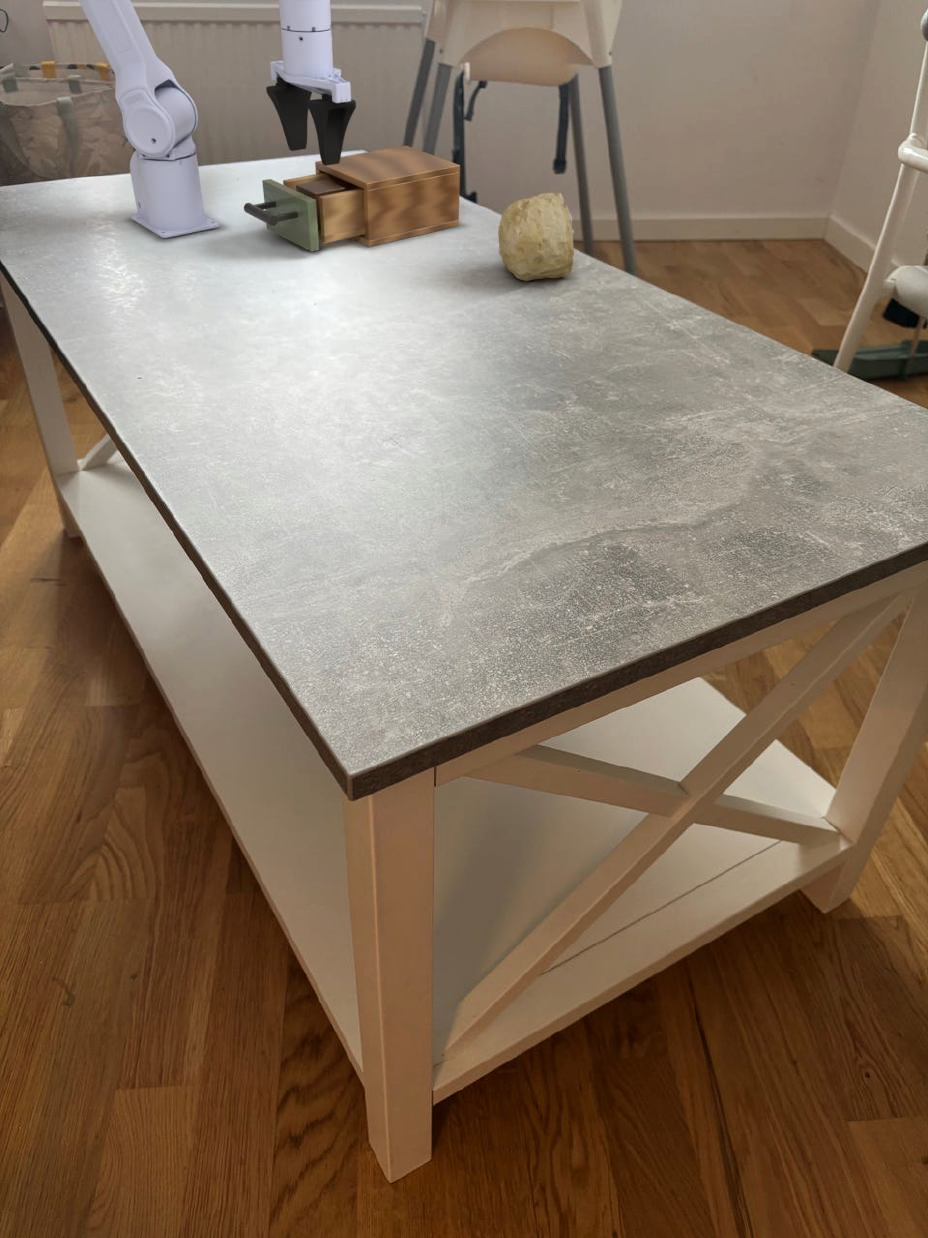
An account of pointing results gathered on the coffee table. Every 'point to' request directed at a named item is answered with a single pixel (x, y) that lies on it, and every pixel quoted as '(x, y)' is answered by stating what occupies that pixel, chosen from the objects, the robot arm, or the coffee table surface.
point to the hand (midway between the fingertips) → (314, 156)
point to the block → (319, 192)
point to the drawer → (311, 211)
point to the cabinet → (401, 192)
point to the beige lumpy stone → (537, 237)
